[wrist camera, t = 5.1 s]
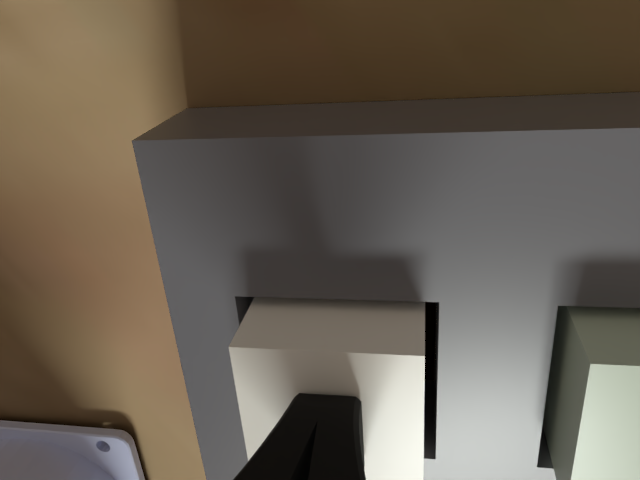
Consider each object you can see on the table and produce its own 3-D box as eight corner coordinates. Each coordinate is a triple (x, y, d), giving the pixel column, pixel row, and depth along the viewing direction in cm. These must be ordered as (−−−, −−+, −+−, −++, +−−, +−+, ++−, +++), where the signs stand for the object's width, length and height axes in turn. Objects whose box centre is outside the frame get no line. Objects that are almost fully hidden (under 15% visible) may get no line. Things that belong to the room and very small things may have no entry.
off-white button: (281, 398, 16) (252, 484, 13) (265, 276, 14) (228, 347, 12) (423, 407, 15) (423, 501, 13) (425, 279, 13) (425, 355, 11)
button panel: (246, 455, 19) (218, 532, 17) (186, 108, 14) (131, 140, 12) (1015, 518, 15) (1139, 634, 13) (1319, 67, 10) (1635, 102, 8)
